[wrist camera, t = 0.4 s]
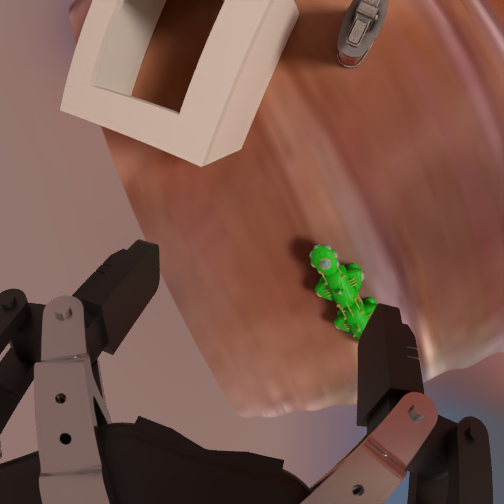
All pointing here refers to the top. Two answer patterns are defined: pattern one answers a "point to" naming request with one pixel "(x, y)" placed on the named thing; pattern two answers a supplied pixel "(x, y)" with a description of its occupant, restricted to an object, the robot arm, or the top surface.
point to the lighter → (359, 30)
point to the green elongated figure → (342, 290)
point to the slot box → (201, 86)
